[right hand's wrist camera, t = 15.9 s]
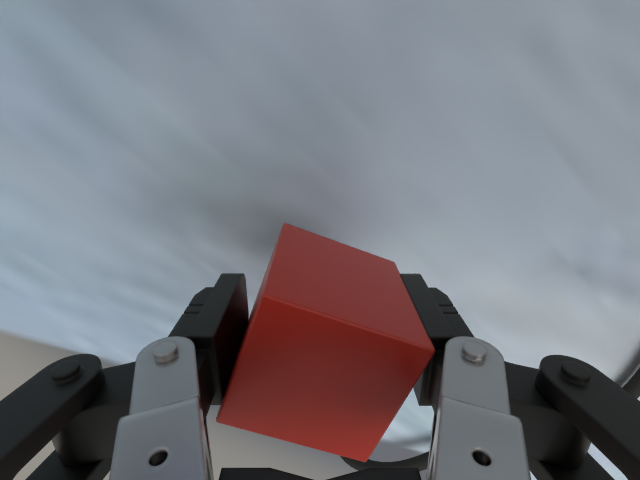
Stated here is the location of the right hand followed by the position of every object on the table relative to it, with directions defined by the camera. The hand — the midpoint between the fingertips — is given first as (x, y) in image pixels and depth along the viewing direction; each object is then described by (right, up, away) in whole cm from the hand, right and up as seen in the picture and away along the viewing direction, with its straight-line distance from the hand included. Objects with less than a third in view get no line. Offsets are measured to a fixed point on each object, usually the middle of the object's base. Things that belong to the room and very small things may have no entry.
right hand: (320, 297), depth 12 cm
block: (0, 0, +1) cm, 1 cm away
